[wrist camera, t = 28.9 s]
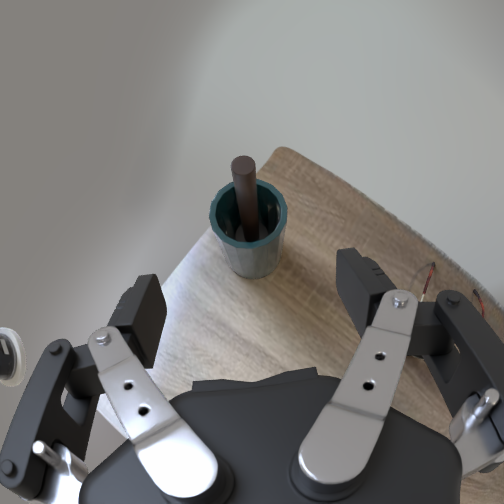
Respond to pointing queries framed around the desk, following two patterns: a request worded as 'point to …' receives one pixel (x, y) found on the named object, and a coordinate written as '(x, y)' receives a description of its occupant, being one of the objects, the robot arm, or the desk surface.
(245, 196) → the brush
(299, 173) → the desk surface
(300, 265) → the desk surface
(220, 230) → the pencil holder
